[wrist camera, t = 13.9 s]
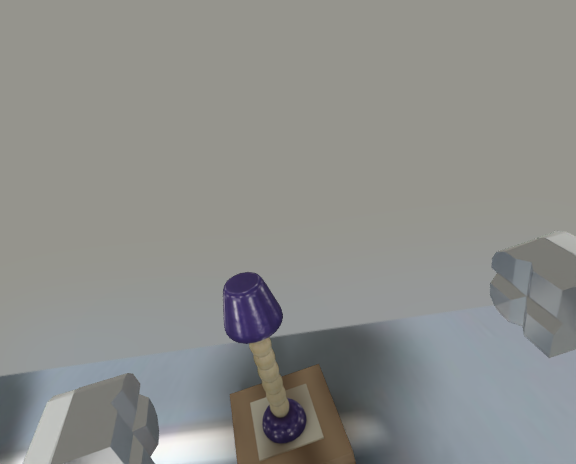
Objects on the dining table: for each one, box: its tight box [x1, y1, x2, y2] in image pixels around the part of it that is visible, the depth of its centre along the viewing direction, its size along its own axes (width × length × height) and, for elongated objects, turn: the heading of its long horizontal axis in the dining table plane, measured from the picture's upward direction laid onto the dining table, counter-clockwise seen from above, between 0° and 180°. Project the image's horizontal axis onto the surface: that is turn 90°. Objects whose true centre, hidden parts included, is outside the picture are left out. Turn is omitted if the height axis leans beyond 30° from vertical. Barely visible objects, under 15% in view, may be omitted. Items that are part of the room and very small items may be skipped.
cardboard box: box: [230, 364, 356, 464], centre depth 37 cm, size 10×10×5 cm
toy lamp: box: [223, 272, 307, 444], centre depth 32 cm, size 5×5×17 cm
